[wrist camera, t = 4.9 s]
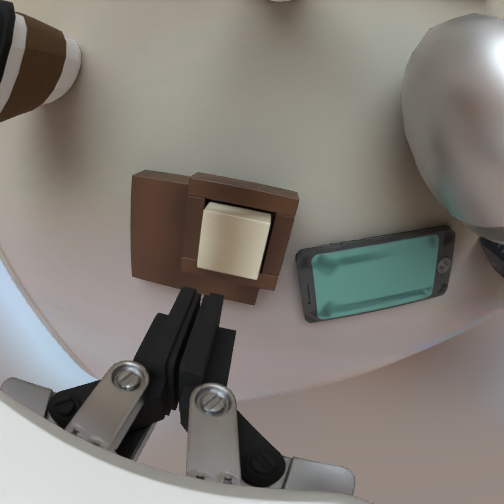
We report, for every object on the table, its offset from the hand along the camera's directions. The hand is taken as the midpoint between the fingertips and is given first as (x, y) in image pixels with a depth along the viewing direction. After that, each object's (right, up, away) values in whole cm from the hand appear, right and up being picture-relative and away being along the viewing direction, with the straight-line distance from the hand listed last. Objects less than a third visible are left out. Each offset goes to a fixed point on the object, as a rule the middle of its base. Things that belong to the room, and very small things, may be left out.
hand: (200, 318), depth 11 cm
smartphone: (+14, +1, +12) cm, 18 cm away
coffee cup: (-16, +20, +5) cm, 26 cm away
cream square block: (+1, +4, +7) cm, 8 cm away
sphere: (+18, +14, +5) cm, 24 cm away
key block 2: (-2, +4, +11) cm, 12 cm away
